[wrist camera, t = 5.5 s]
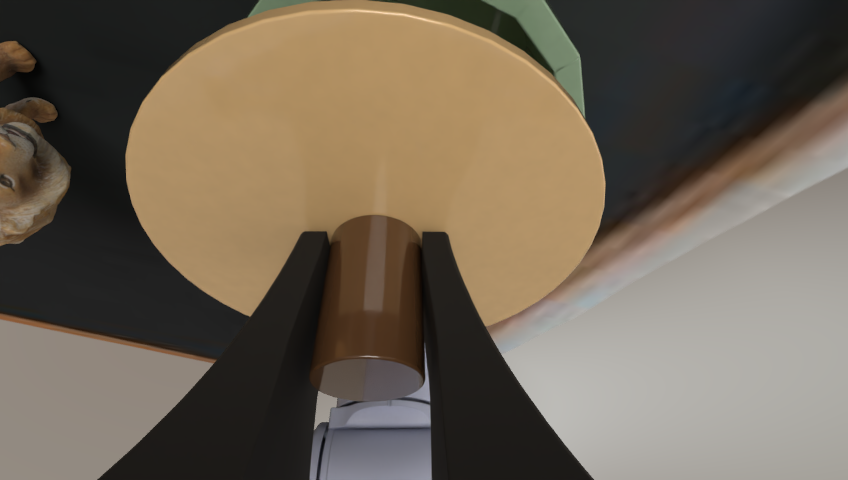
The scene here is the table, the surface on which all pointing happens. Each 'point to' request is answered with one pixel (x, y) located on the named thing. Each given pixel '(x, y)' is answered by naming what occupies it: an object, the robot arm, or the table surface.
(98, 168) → the table surface
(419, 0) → the canister
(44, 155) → the lion figurine
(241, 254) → the lid
